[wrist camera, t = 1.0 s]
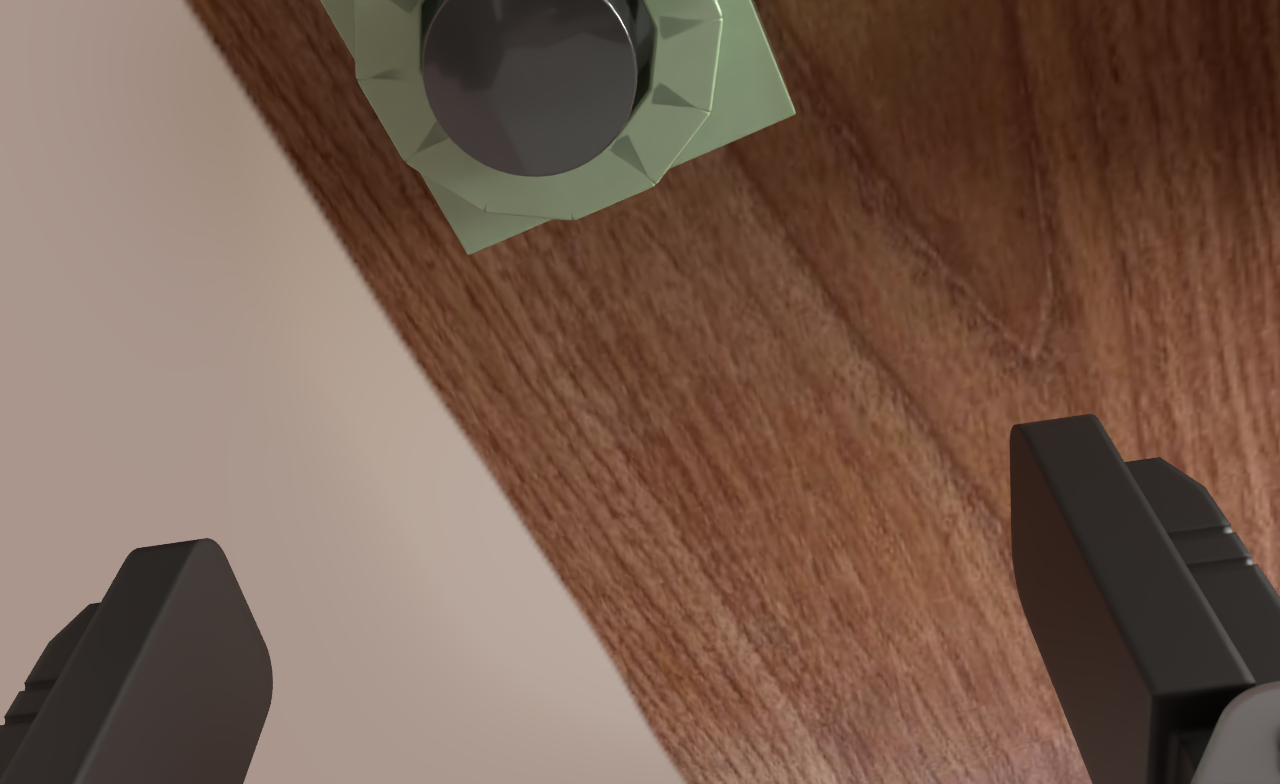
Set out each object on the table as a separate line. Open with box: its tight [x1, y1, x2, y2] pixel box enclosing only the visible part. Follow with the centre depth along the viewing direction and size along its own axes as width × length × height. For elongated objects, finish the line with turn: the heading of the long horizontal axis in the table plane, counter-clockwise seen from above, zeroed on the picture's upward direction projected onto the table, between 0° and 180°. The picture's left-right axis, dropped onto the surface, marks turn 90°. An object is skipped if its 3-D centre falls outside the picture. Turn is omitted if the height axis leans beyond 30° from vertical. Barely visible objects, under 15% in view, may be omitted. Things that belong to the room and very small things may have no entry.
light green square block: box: [320, 0, 796, 255], centre depth 24 cm, size 8×8×6 cm
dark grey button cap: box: [422, 0, 638, 177], centre depth 21 cm, size 4×4×2 cm
